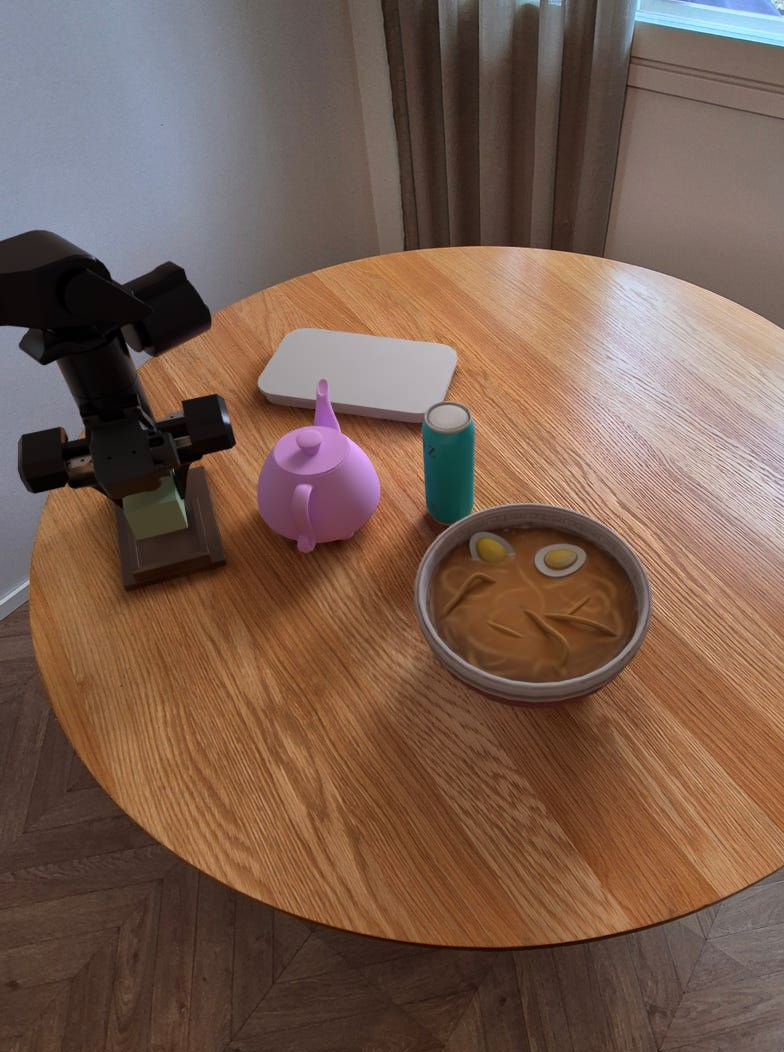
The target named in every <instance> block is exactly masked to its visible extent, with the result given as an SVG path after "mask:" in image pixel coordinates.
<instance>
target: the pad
mask: <svg viewBox="0 0 784 1052" xmlns="http://www.w3.org/2000/svg"><path fill="white" fill-rule="evenodd" d="M162 480H163V481H162V485H161V486H160V487H159V488H158V489H157V490H155V491H151V492H142V493H138V494H134V495H129V496H126V497H125V498H122V500H123V509H124V514H125V516H126V519H127V521H128V523H129V525H130V527H131V529H132V531H133V533H134V535H135V537H136V540H141V539H145V538H149V537H153V536H157V535H161V534H165V533H169V532H173V531H177V530H181V529H185V528H188V524H187V518H186V512H185V507H184V501H183V500H182V499H181V497H180V495H179V493H178V490H177V485H176V480H175V474H174V469H172V470H171V476H167V477H162Z"/></svg>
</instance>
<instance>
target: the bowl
mask: <svg viewBox="0 0 784 1052" xmlns="http://www.w3.org/2000/svg"><path fill="white" fill-rule="evenodd" d="M641 561H642V560H641V559H640V557H639V556H638V555H637V553H636V552H635V551H634V550H633V548H632V547H631V546H630V545H629V544H628V543H627V542H626V540H624V539H623V538H622V537H621V536H620V535H619V534H617V533H616V532H615V530H613V529H611V528H610V527H609V526H607V525H605V524H604V523H602V522H600V521H598V520H596V519H595V518H594V517H591V516H589V515H587V514H584V513H582V512H579V511H576V510H574V509H571V508H567V507H563V506H558V505H554V504H548V503H547V504H546V503H538V502H522V503H520V502H519V503H507V504H501V505H496V506H491V507H487V508H485V509H481V510H478V511H476V512H474V513H470V514H469V516H467V517H465V518H463V519H461V520H460V521H458V522H456V523H454V524H453V525H451V526H448V527H447V528H446V529H445V530H444V531H442V532H441V533H440V534H439V535H438V536H437V537H436V538H435V539H434V541H433V542H432V543H431V544H430V546H429V547H428V548H427V549H426V551H425V553H424V554H423V557H422V559H421V560H420V563H419V565H418V566H417V570H416V575H415V579H414V584H413V603H414V605H413V606H414V609H415V613H416V617H417V620H418V623H419V624H418V625H419V627H420V631H421V635H422V636H423V638H424V641H425V642H426V644H427V645H428V648H429V650H430V651H431V653H432V654H433V656H434V657H435V659H436V660H437V661H438V663H439V664H440V665H441V666H442V667H443V668H444V670H445V671H446V672H447V673H448V674H449V675H450V676H451V677H452V678H453V679H454V680H455V681H457V682H458V683H459V684H461V685H462V686H463V687H464V688H466V689H467V690H469V691H471V692H473V693H474V694H477V695H479V696H481V697H482V698H485V699H487V700H488V701H491V702H494V703H497V704H501V705H505V706H507V707H511V708H518V709H529V710H538V709H552V708H556V707H561V706H564V705H569V704H572V703H578V702H579V701H582V700H584V699H586V698H588V697H590V696H592V695H594V694H596V693H598V692H599V691H601V690H602V689H604V688H605V687H606V686H607V685H609V684H611V683H612V682H613V681H614V680H615V679H616V678H618V676H619V675H620V674H622V672H623V671H624V670H625V669H626V668H627V667H628V666H629V665H630V663H631V662H632V661H633V660H634V659H635V657H636V656H637V653H638V652H639V649H640V647H641V646H642V644H643V642H644V640H645V638H646V636H647V634H648V632H649V628H650V624H651V621H652V617H653V612H654V611H653V609H654V608H653V589H652V586H651V582H650V578H649V575H648V572H647V569H646V568H645V567H644V565H643V563H642V562H641Z"/></svg>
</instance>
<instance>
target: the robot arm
mask: <svg viewBox="0 0 784 1052" xmlns="http://www.w3.org/2000/svg"><path fill="white" fill-rule="evenodd" d="M212 324H213V321H212V314H211V310H210V307H209V306H208V305H207V304H206V303H205V301H204V300H203V298H202V296H201V294H200V292H199V291H198V290H197V288H196V286H194V285H193V284H192V282H191V281H190V280H189V279H188V277H187V274H186V270H185V268H184V267H182V266H180V265H178V264H176V263H175V262H173V261H171V260H168V261H165V262H164V263H161V264H159V265H157V266H156V267H155V268H154V269H153V270H151V271H149V272H147V273H145V274H142V275H140V276H138V277H136V278H134V279H132V280H130V281H127V282H125V283H123V284H121V283H120V282H118V281H116V280H114V279H113V278H112V275H111V272H110V270H109V269H108V268H107V266H106V265H105V263H104V262H102V261H101V260H100V259H98V257H96V256H94V255H92V254H91V253H89V252H88V251H86V250H84V249H83V248H81V247H79V246H78V245H76V244H75V243H72V242H71V241H69V240H68V239H66V238H64V237H62V236H61V235H60V234H56V233H55V232H53V231H51V230H46V229H32V230H29V231H26V232H23V233H19V234H17V235H13V236H11V237H8V238H5V239H2V240H0V327H13V328H14V327H15V328H24V329H28V330H27V332H26V333H25V334H23V336H22V338H21V339H20V341H19V343H18V348H19V349H20V351H22V352H23V353H24V354H26V355H27V356H29V357H30V358H32V359H33V360H34V361H36V362H37V363H38V364H40V365H41V366H48V365H49V364H52V363H53V362H56V364H57V366H58V368H59V370H60V372H61V374H62V377H63V379H64V381H65V383H66V385H67V388H68V390H69V393H70V394H71V396H72V399H73V400H74V403H75V405H76V407H77V409H78V411H79V412H78V413H79V416H80V418H81V420H82V421H81V422H82V424H83V426H84V437H82V438H78V439H74V440H69V435H68V432H67V431H66V429H65V428H64V427H63V426H57V427H56V426H55V427H52V428H47V429H42V430H38V431H34V432H33V431H32V432H27V433H24V434H21V436H20V437H19V440H18V441H17V472H18V475H19V479H20V481H21V482H22V484H23V486H24V488H25V490H26V491H27V492H29V493H31V494H34V495H36V494H40V493H45V492H49V491H54V490H58V489H62V488H65V487H66V485H67V486H68V488H70V489H73V490H77V489H83V488H92V489H94V490H95V491H97V492H99V493H100V494H102V495H103V496H104V497H106V498H107V499H109V500H110V502H112V503H113V504H114V503H115V504H116V505H118V506H119V507H120V508H121V509H123V500H122V498H125V497H126V496H129V495H134V494H138V493H142V492H151V491H155V490H157V489H158V488H159V487H160V486H161V485H162V481H163V480H162V477H167V476H171V470H172V469H174V474H175V480H176V485H177V490H178V493H179V495H180V497H181V499H182V500H184V499H185V496H186V485H187V475H188V470H189V469H190V467H191V465H192V464H193V463H195V462H199V461H201V460H203V458H204V456H205V455H206V456H207V455H209V454H214V453H218V452H222V451H227V450H231V449H233V448H234V447H235V446H236V445H237V440H236V437H235V432H234V428H233V425H232V421H231V417H230V413H229V410H228V407H227V403H226V400H225V398H224V397H223V396H222V395H220V394H218V393H211V394H208V395H207V394H206V395H203V396H198V397H193V398H189V399H184V400H181V406H182V410H177V411H172V412H168V413H167V414H166V415H165V416H164V417H163V418H160V419H156V416H155V415H154V411H153V410H152V406H151V405H150V402H149V399H148V397H147V394H146V391H145V389H144V386H143V384H142V381H141V378H140V376H139V373H138V371H137V367H136V365H135V363H134V360H133V357H132V355H131V352H130V349H131V350H133V351H134V352H136V353H142V352H144V353H146V354H147V355H148V356H150V357H152V358H159V357H161V356H163V355H165V354H167V353H168V352H170V351H172V350H174V349H176V348H178V347H180V346H181V345H184V344H185V343H187V342H189V341H191V340H194V339H195V338H198V336H199V337H200V336H201V335H202V334H204V333H206V332H208V331H209V330H211V328H212V326H213V325H212ZM129 348H130V349H129ZM123 510H124V509H123Z"/></svg>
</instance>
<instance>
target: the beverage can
mask: <svg viewBox="0 0 784 1052" xmlns="http://www.w3.org/2000/svg"><path fill="white" fill-rule="evenodd" d="M475 427H476V425H475V422H474V420H473V414H472V411H471V410H470V408H469V407H467V406H466V405H465V404H464V403H460V402H457V401H450V400H447V401H445V400H444V401H443V402H439V403H436V404H434V405H432V406H430V407H429V408H428V409H427V410H426V412H425V415H424V422H423V423H421V438H422V456H423V476H424V495H425V496H424V497H425V506H426V509H427V511H428V514H429V515H430V517H431V518H432V519H433V521H435V522H436V523H438V524H439V525H442V526H447V527H450V526H451V525H453V524H454V523H456V522H458V521H460V520H461V519H463V518H465V517H467V516H469V515H470V514H471V512H472V510H473V509H474V506H475V505H474V504H475V445H476V444H475V437H476V435H475V434H476V433H475V432H476V430H475V429H476V428H475Z"/></svg>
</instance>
